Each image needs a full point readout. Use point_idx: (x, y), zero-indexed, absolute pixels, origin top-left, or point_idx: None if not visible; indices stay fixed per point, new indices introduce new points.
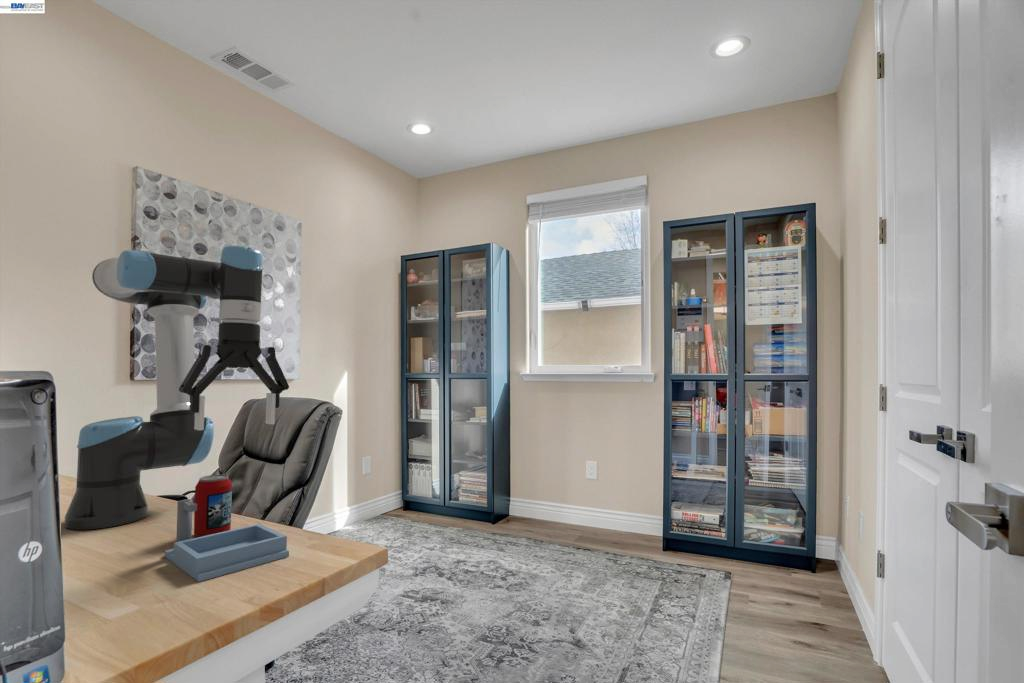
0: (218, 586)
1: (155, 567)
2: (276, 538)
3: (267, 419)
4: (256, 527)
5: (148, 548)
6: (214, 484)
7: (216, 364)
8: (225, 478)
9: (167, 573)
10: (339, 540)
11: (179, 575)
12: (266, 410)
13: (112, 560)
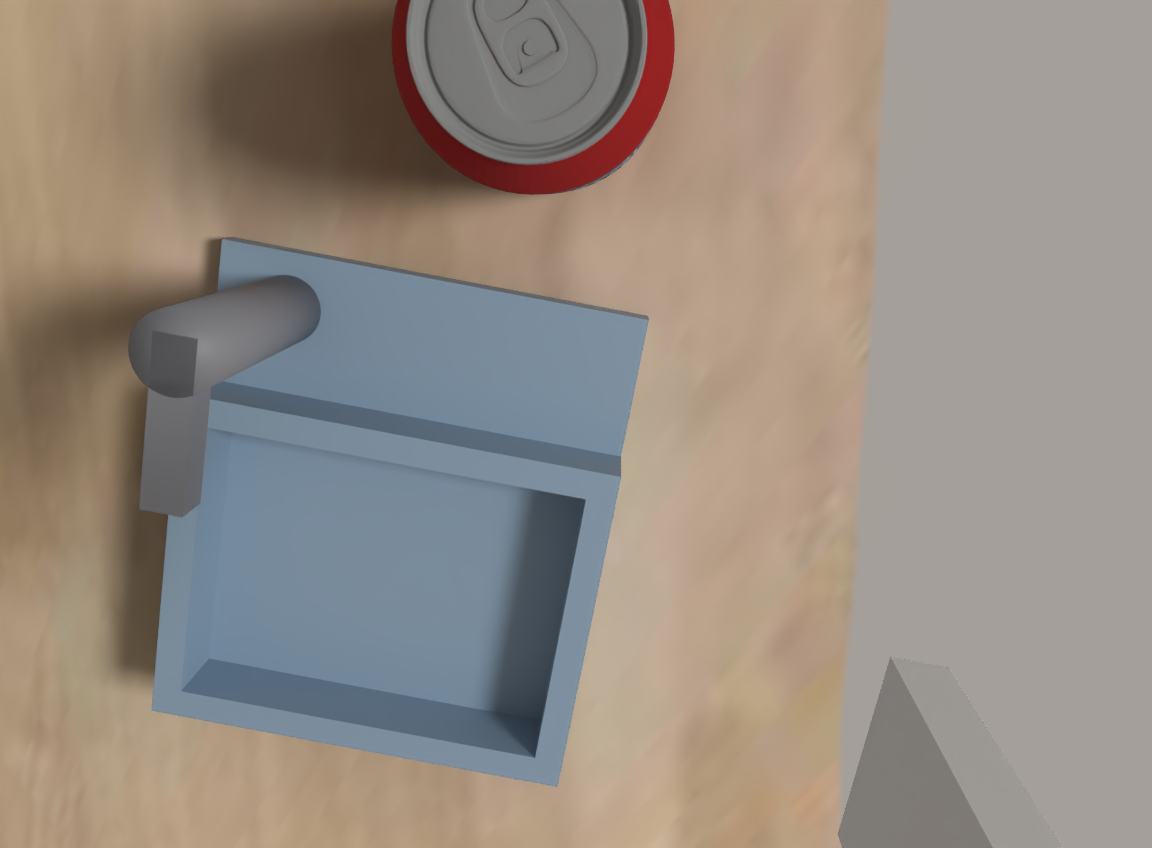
0: (217, 784)
1: None
2: (506, 776)
3: (887, 764)
4: (585, 500)
5: (233, 15)
6: (471, 166)
7: None
8: (571, 157)
9: None
10: (831, 784)
11: None
12: (953, 821)
13: (51, 57)
